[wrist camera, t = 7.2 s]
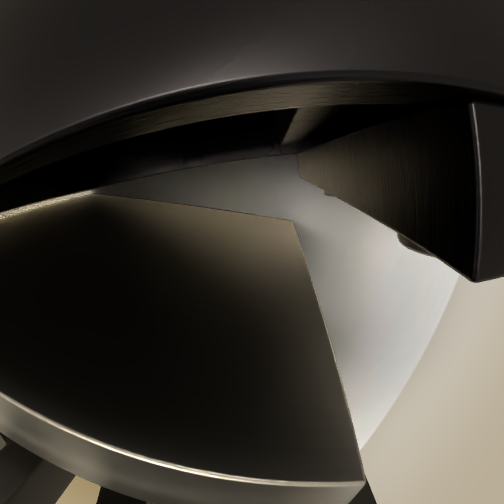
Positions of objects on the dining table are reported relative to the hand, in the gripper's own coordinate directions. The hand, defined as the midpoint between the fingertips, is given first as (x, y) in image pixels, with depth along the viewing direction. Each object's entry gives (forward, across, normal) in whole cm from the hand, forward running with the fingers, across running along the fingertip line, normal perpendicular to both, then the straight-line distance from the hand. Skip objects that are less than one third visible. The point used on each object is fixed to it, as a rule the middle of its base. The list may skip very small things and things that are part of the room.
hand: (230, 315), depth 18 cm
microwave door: (+4, +4, -1) cm, 6 cm away
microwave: (+4, +5, -14) cm, 16 cm away
